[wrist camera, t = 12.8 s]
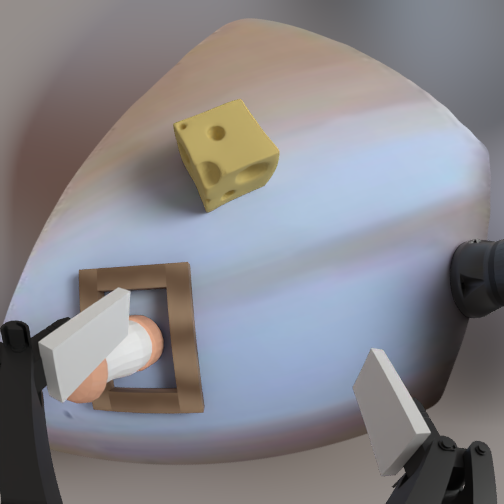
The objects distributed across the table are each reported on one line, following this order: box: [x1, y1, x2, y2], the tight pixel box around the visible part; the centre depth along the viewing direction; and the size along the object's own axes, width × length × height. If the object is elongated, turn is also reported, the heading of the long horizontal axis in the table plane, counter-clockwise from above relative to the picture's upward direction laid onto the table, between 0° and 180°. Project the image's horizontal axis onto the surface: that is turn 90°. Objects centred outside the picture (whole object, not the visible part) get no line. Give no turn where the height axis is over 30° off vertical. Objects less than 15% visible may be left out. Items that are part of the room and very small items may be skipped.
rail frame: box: [79, 262, 204, 413], centre depth 35 cm, size 20×16×2 cm
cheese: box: [173, 99, 279, 212], centre depth 37 cm, size 10×11×10 cm
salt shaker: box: [67, 315, 164, 403], centre depth 26 cm, size 7×7×19 cm
